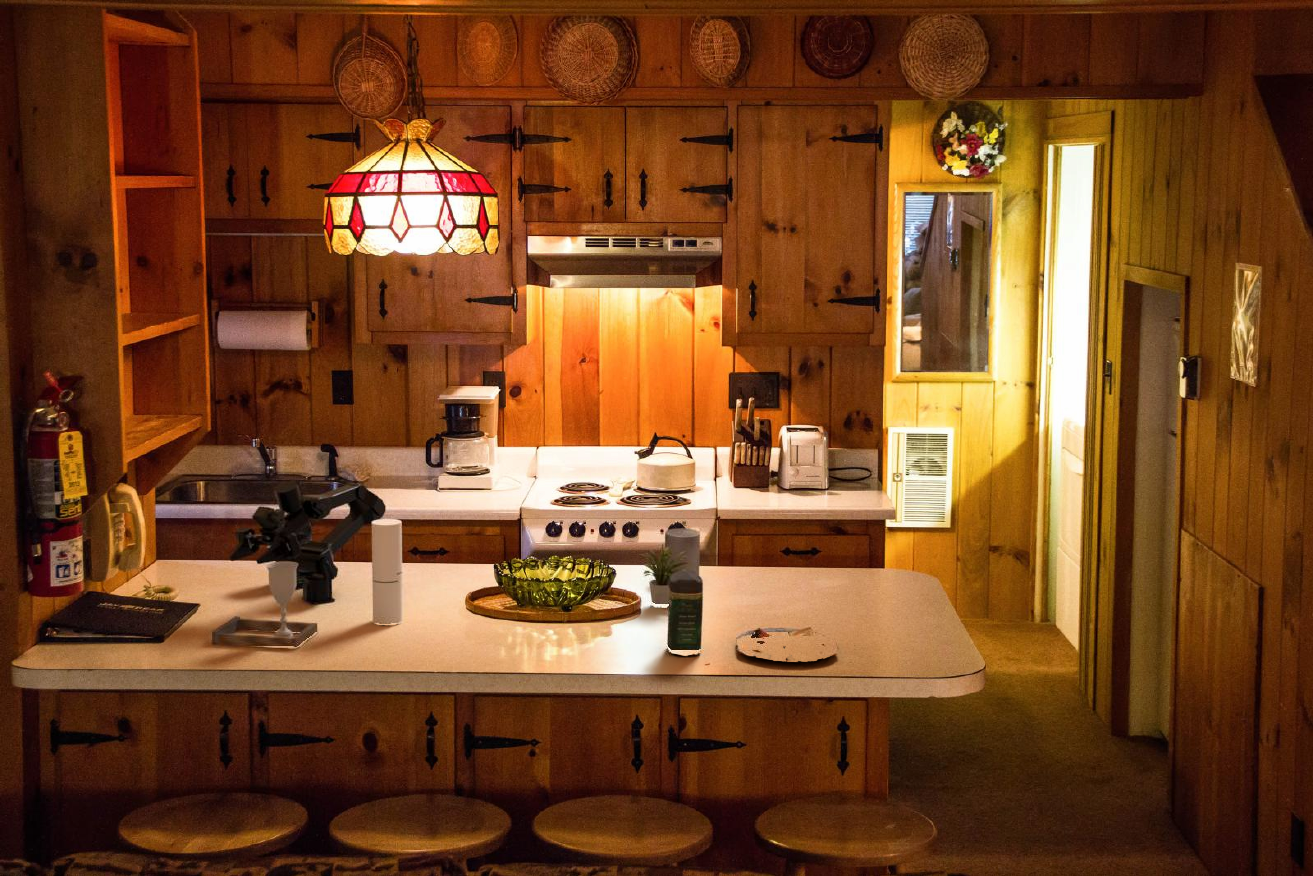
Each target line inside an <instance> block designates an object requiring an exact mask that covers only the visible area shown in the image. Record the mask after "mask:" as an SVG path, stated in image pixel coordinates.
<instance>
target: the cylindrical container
mask: <svg viewBox="0 0 1313 876" xmlns="http://www.w3.org/2000/svg"><path fill="white" fill-rule="evenodd" d="M402 524H403V523H402V520H400V519H394V518H381V519H379V520H374V521H372V524H371V570H372V571H371V574H372V580H371V582H372V584H371V587H372V623H373V622H374V623H379V624H391V623H399V622H401V621H402V620H404V619H403V541H402V540H403V534H402V533H403V531H402V528H403V525H402ZM374 623H373V624H374Z"/></svg>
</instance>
